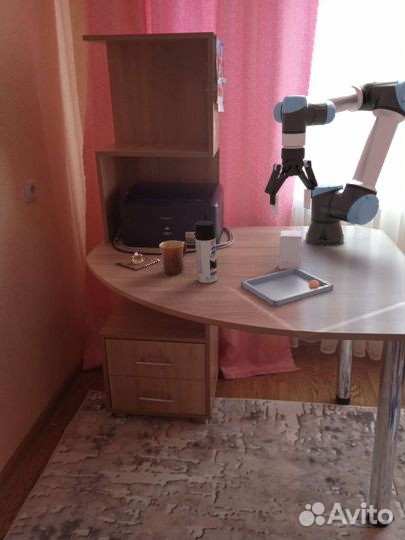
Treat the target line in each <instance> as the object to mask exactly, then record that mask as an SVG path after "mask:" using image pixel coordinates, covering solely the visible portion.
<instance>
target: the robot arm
mask: <svg viewBox="0 0 405 540" xmlns="http://www.w3.org/2000/svg"><path fill="white" fill-rule="evenodd" d="M272 111H273V118H274V120H275V121H276V123H279V124H281V146H282V147H281V149H280V150H281V151H280V152H281V153H280V158H281V164H280V163H274V164H273V168H272V172H271V174H270V176H269V179H268V182H267V183H266V186H265V189H264V193H265V194H268V195H269V204H270V206H271V207H270V208H271V209H270V211H271V215H274V216H278V215H279V195H278V192H279V191H280V190H281V188H282V186H283V185H284V183H286V180H287V179H288V178H289V177H290V178H292V177H298V178H299V180H300V181H301V182H302V184H303V185H304V187H305V188H304V189H303V191H304V192H303V209H306V210H310V211H311V212H310V224H309V227H308V229H307V232H306V233H305V242H306V243H308V244H310V245H313V246H316V247H317V246H318V247H334V246H335V247H336V246H339V245H341V244H343V243H344V240H345V236H344V235H345V234H344V232H343V227H342V224H341V221H342V222H346V223H350V224H352V225H358V226H364V225H367V224H368V223H371V222H372V220H374V218H375V217H376V215H377V214H378V212H379V209H380V200H379V198H378V197H377V195H378V191H377V188H376V186H377V182H378V179H379V177H380V174H381V172H382V169H383V166H384V163H385V161H386V159H387V155H388V153H389V150H390V147H391V144H392V143H393V140H394V137H395V134H396V131H397V129H398V126H399V124H400V123H402V122H404V121H405V77H403V76H399V77H389V78H388V77H387V78H385V77H383V78H374V79H373V78H372V79H368V80H366V81H362V82H358V83H355V84H350V85H348V86H346V88H345V89H340V90H336V91H330V92H326V93H322V94H316V95H312V96H307V95H286V96H284V97H283V99H282V100H280V101H278V102H277V103H276V104H275V105H274V107H273V110H272ZM345 111H349V112H351V113H352V112H359V111H360V112H361V111H363V112H372V114H373V117H374V120H373V121H372V125H371V127H370V130H369V132H368V135H367V138H366V141H365V145H364V146H363V148H362V151H361V154H360V157H359V160H358V162H357V165H356V169H355V171H354V173H353V176H352V179H351V180H350V181H348V182H347V183H345V186H344V184H342V183H340V182H339V183H335V182H334V183H323V184H318V182H317V179H316V176H315V173H314V169H313V165H312V160H310V159H305V158H306V148H305V146H306V134H307V131H306V130H307V127H313V126H324V125H329V124H330V123H332V122H333V121H334V119H335V117H336V114H338V113H341V112H342V113H343V112H345ZM303 168H304V169H303ZM304 170H305V171H304Z"/></svg>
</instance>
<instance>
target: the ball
mask: <svg viewBox="0 0 405 540" xmlns="http://www.w3.org/2000/svg"><path fill="white" fill-rule="evenodd" d="M318 287H319V282H318V281H316V280H312V281H310V282H309V288H310V289H314V288H318Z"/></svg>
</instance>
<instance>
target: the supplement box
mask: <svg viewBox="0 0 405 540" xmlns="http://www.w3.org/2000/svg"><path fill="white" fill-rule="evenodd" d="M279 235H280V236H279V256H278V257H279V260H278V261H279V263H278V269H279V270H287V269H291V268H295V267H297V268H299V269H301V263H302V262H301V259H302V258H301V257H302V255H301V254H302V239H303V238H302V230H280V234H279Z"/></svg>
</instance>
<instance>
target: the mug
mask: <svg viewBox="0 0 405 540" xmlns="http://www.w3.org/2000/svg"><path fill="white" fill-rule="evenodd" d="M158 246H159V249H160V252H161V263H162V265H161V266H162V269H163V272H164V273H165V274H166V275H172V276H173V275H174V276H175V274H176V275H180V274H181V273H182V272H183V271H184V266H185V265H184V258H185V257H186V253H187V249H188V248H187V243H186V242H185V241H181V240H166V241H162V242H161V243H159V244H158Z"/></svg>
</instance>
